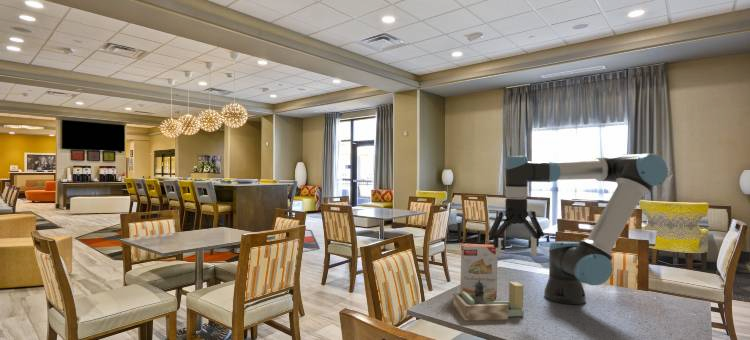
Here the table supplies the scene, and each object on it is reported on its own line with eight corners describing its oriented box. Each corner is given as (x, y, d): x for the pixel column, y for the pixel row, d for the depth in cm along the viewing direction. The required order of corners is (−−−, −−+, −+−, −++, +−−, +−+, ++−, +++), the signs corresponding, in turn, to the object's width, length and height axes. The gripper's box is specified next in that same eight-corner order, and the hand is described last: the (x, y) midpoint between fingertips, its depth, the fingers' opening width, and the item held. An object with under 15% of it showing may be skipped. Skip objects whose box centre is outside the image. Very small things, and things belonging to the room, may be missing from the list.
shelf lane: (492, 305, 150) (492, 292, 150) (508, 319, 137) (508, 304, 137) (453, 306, 149) (453, 293, 149) (465, 320, 135) (465, 306, 135)
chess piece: (469, 314, 141) (470, 281, 141) (471, 309, 146) (471, 277, 146) (486, 316, 139) (487, 282, 139) (487, 311, 145) (488, 278, 145)
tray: (513, 306, 149) (513, 279, 149) (526, 315, 139) (526, 287, 139) (461, 307, 147) (462, 280, 147) (470, 317, 137) (471, 288, 137)
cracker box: (462, 297, 160) (463, 246, 160) (460, 292, 166) (460, 243, 166) (497, 298, 159) (498, 246, 159) (493, 293, 165) (494, 243, 165)
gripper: (543, 197, 149) (542, 252, 149) (479, 197, 146) (479, 254, 146) (554, 198, 142) (554, 257, 142) (487, 199, 139) (487, 259, 139)
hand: (516, 256), depth 144 cm, fingers open, 13 cm apart
